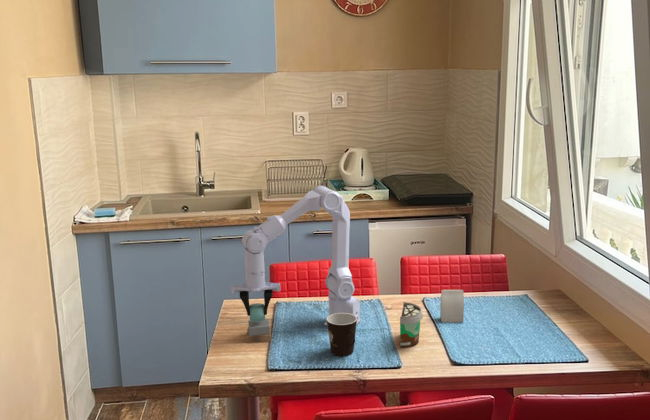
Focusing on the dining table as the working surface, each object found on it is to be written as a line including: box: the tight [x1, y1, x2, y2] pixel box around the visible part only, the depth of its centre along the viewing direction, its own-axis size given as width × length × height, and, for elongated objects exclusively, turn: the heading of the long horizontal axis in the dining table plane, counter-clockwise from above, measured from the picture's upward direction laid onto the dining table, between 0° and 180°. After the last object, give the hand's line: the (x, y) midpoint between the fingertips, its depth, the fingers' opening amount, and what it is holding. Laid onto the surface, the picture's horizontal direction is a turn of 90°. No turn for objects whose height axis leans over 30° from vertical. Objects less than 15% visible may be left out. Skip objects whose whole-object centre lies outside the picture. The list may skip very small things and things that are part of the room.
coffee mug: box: [326, 313, 358, 357], centre depth 182 cm, size 12×9×10 cm
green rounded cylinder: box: [249, 302, 266, 322], centre depth 194 cm, size 5×5×4 cm
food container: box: [399, 301, 424, 349], centre depth 189 cm, size 12×6×10 cm, turn 168°
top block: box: [248, 318, 270, 336], centre depth 195 cm, size 6×6×2 cm
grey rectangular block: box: [439, 289, 465, 323], centre depth 204 cm, size 4×7×10 cm, turn 87°
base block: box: [246, 325, 272, 344], centre depth 195 cm, size 7×7×2 cm
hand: (257, 314), depth 194 cm, fingers closed on green rounded cylinder, 4 cm apart
